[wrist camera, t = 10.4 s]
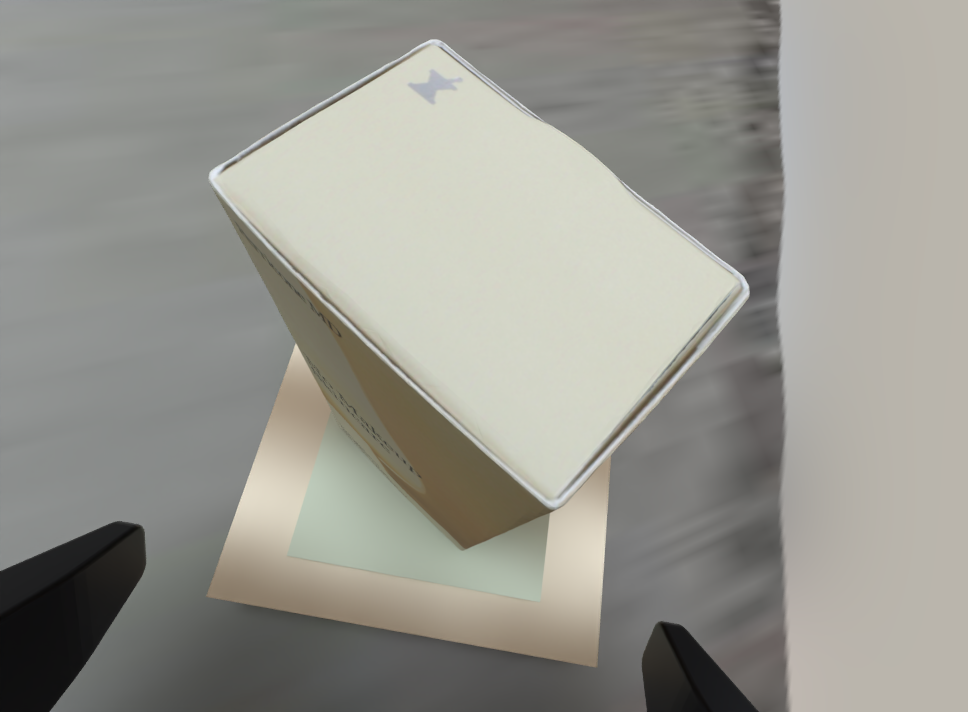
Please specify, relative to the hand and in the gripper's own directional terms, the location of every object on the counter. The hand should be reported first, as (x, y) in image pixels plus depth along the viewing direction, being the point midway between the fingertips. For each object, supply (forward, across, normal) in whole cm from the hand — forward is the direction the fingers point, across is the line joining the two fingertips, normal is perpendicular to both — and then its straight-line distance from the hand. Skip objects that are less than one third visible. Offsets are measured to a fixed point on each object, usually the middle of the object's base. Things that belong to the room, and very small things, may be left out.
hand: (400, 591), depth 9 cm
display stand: (+11, 0, +4) cm, 12 cm away
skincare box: (+9, 0, +2) cm, 9 cm away
